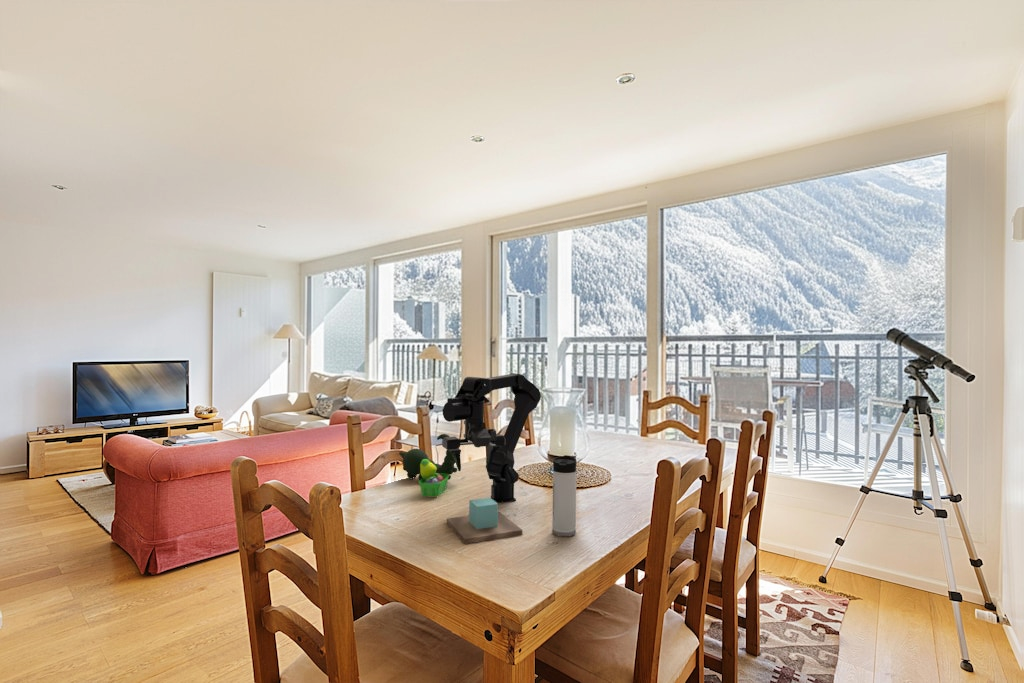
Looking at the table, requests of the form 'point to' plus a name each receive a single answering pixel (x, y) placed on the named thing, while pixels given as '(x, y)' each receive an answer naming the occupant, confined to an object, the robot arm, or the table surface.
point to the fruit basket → (431, 479)
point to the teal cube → (483, 513)
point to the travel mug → (564, 496)
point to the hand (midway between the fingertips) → (473, 469)
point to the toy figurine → (417, 455)
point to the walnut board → (473, 535)
